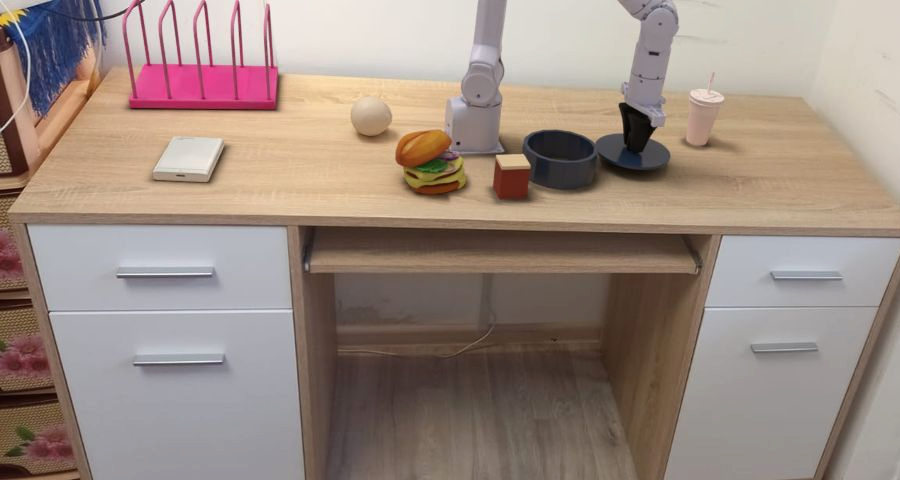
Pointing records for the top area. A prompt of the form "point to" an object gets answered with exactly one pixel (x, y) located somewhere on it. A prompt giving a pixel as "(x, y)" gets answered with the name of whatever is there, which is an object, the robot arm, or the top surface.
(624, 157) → the pot lid
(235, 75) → the file sorter
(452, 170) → the cheeseburger
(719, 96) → the smoothie
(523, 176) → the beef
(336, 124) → the top surface
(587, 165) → the pot
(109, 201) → the top surface
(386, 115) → the cream ball
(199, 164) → the hard drive
